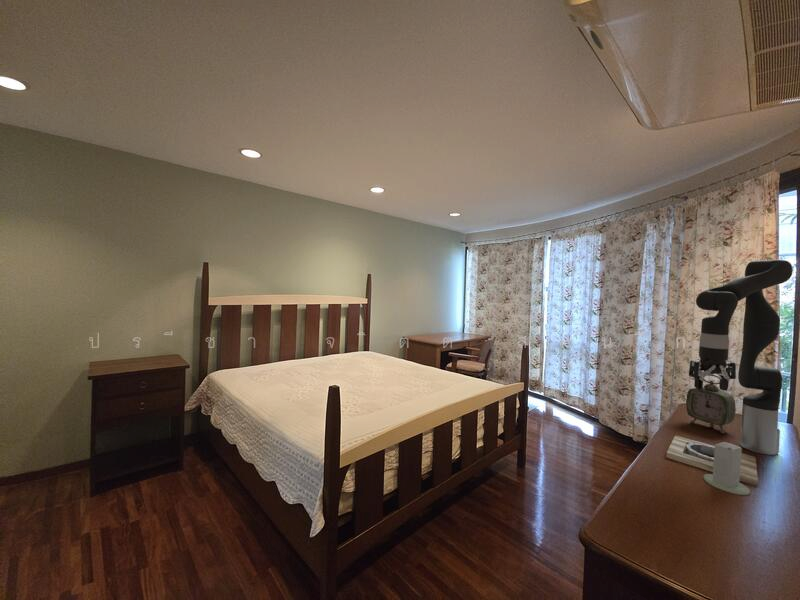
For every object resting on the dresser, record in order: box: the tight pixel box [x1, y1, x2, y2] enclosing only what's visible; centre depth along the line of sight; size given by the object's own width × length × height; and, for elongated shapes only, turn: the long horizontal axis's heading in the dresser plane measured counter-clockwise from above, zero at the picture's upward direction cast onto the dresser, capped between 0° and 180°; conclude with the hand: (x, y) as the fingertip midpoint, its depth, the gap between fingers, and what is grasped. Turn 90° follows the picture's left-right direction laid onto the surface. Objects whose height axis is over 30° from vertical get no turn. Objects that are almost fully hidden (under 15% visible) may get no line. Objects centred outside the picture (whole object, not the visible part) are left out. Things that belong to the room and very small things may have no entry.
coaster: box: [703, 473, 751, 496], centre depth 97 cm, size 10×10×1 cm
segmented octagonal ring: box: [685, 443, 715, 462], centre depth 113 cm, size 13×13×3 cm
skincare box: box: [712, 441, 743, 488], centre depth 97 cm, size 6×4×12 cm
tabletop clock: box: [685, 374, 737, 435], centre depth 142 cm, size 14×9×25 cm, turn 23°
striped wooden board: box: [666, 435, 759, 487], centre depth 113 cm, size 22×22×2 cm
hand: (711, 389), depth 113 cm, fingers open, 8 cm apart
